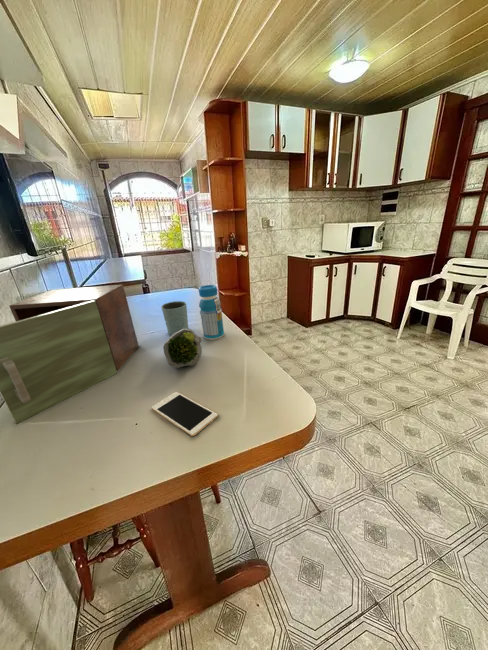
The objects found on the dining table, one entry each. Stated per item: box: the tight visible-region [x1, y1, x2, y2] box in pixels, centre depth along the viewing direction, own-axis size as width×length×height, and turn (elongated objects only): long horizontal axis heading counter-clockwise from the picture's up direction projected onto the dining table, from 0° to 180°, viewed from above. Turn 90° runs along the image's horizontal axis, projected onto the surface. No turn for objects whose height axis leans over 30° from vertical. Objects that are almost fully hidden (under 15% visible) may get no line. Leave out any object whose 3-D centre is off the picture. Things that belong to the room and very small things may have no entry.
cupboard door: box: [0, 300, 118, 425], centre depth 70 cm, size 7×26×24 cm, turn 143°
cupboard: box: [9, 284, 139, 372], centre depth 91 cm, size 18×26×24 cm
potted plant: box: [162, 328, 203, 369], centre depth 85 cm, size 12×13×15 cm
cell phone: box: [151, 391, 218, 437], centre depth 65 cm, size 8×16×1 cm, turn 50°
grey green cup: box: [161, 300, 189, 336], centre depth 111 cm, size 10×10×12 cm
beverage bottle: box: [198, 284, 225, 341], centre depth 103 cm, size 8×8×20 cm
